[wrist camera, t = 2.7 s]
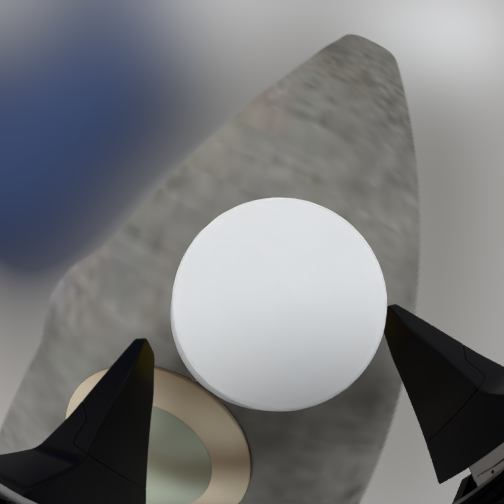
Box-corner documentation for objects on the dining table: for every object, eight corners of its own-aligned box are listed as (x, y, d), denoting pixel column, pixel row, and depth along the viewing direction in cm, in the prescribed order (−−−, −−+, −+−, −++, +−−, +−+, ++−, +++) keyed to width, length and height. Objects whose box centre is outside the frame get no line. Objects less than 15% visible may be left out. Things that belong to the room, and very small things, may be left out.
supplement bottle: (267, 391, 17) (302, 499, 4) (188, 329, 18) (74, 319, 5) (329, 311, 18) (458, 270, 6) (252, 252, 19) (255, 119, 7)
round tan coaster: (271, 510, 14) (272, 519, 12) (111, 514, 13) (105, 521, 11) (219, 347, 17) (216, 349, 16) (54, 372, 16) (44, 374, 15)
